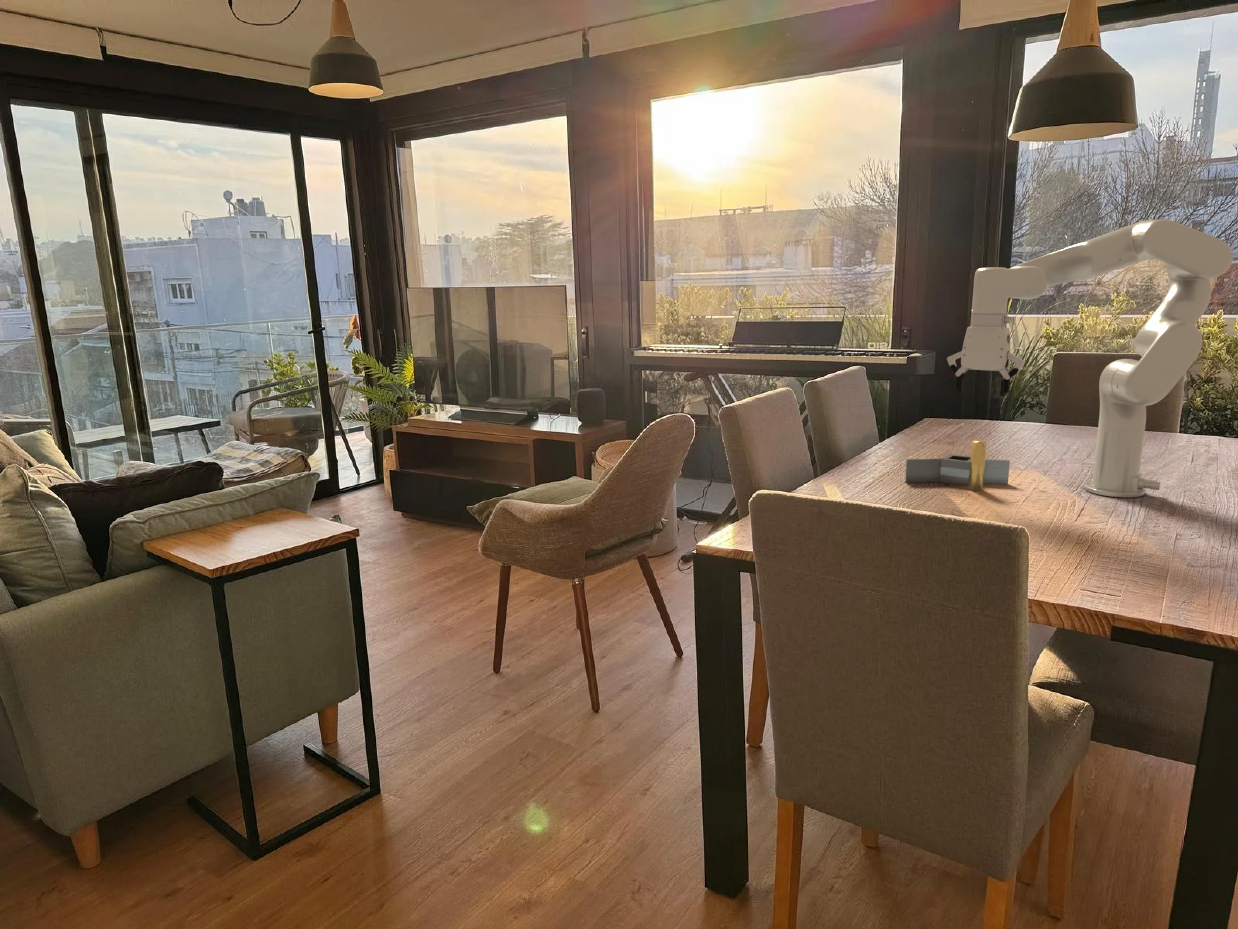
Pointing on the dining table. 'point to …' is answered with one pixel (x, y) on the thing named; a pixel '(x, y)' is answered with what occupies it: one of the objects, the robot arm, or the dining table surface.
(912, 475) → the grey winged square socket
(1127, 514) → the dining table surface
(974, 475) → the pin
